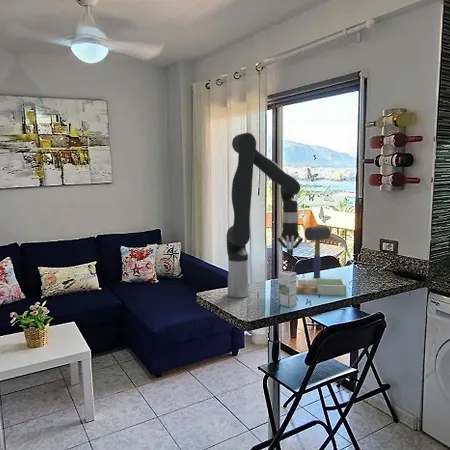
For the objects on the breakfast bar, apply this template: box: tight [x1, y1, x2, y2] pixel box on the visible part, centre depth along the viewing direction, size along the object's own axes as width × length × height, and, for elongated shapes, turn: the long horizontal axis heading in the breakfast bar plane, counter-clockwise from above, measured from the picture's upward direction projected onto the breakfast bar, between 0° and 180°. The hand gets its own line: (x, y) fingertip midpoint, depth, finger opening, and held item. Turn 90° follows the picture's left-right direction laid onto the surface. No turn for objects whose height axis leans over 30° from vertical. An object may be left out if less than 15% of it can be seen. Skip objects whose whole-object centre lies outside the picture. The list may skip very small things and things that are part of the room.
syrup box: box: [278, 270, 297, 308], centre depth 184 cm, size 6×6×14 cm
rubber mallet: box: [304, 225, 331, 278], centre depth 220 cm, size 12×8×30 cm, turn 117°
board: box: [296, 280, 318, 295], centre depth 208 cm, size 12×12×3 cm
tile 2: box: [306, 277, 316, 285], centre depth 207 cm, size 4×4×2 cm
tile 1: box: [297, 277, 307, 285], centre depth 208 cm, size 4×4×2 cm
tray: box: [316, 277, 347, 296], centre depth 206 cm, size 13×14×4 cm
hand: (290, 256), depth 207 cm, fingers closed
